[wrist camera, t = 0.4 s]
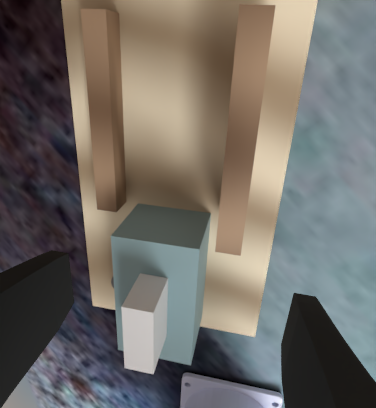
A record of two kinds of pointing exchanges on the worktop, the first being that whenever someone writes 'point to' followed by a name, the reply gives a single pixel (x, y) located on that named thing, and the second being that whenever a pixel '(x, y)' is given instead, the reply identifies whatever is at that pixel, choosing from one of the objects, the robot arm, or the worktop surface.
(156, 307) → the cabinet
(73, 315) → the worktop surface
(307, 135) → the worktop surface
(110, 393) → the worktop surface
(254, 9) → the cleat board
